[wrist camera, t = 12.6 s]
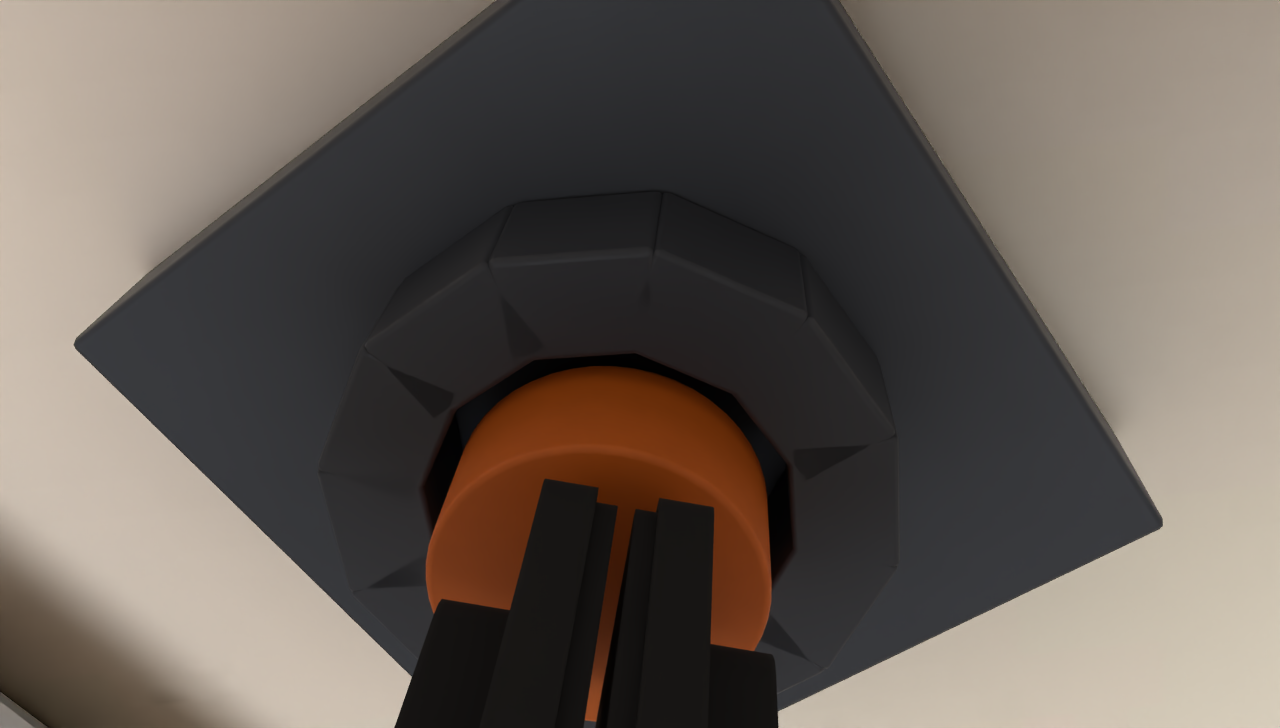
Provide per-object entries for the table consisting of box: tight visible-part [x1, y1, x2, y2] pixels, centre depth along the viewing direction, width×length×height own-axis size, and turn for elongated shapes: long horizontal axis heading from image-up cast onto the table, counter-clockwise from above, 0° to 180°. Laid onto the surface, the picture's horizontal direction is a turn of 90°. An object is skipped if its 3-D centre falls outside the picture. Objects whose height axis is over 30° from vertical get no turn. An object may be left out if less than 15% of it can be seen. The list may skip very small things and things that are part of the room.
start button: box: [426, 366, 772, 722], centre depth 13 cm, size 4×4×2 cm
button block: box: [74, 0, 1163, 728], centre depth 15 cm, size 10×10×4 cm
